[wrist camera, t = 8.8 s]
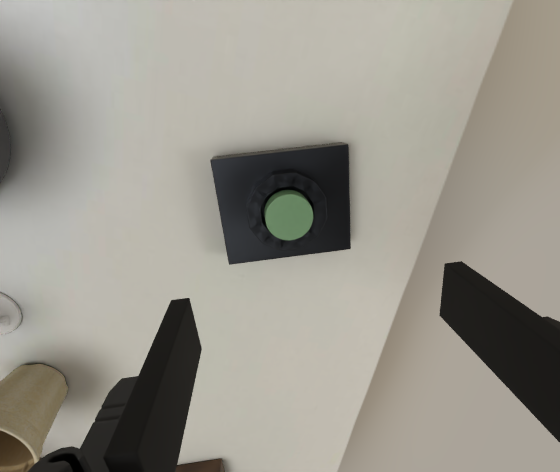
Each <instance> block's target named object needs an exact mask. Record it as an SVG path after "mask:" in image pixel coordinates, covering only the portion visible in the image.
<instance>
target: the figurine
mask: <svg viewBox="0 0 560 472" xmlns="http://www.w3.org/2000/svg"><path fill="white" fill-rule="evenodd" d="M21 319H22V315H21V311H20V309H19V307H18V305H17V304H16V303H15V302H14V301H13V300H12V299H11V298H9V297H8V296H6V295H4V294H2V293H0V335H1V334H7V333H10V332H12V331H14V330H15V329H16V328H17V327H18V326H19V325H20V323H21Z"/></svg>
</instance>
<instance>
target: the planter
mask: <svg viewBox="0 0 560 472" xmlns="http://www.w3.org/2000/svg"><path fill="white" fill-rule="evenodd" d="M10 153H11V144H10V135H9V131H8V127H7V124H6V121H5V118H4V116H3V113H2V111H1V109H0V182H1V181H2V179H3V177H4V175H5V173H6V171H7V168H8V165H9V161H10Z"/></svg>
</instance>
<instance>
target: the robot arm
mask: <svg viewBox="0 0 560 472" xmlns="http://www.w3.org/2000/svg"><path fill="white" fill-rule="evenodd" d="M440 316H441V317H442V318H443V319H444V321H445V322H446V323H447V324H448V325H449V326H450V327H451V328H452V329H453V330H454V331H455V332H456V333H457V334H458V335H459V336H460V337H461V339H462V340H463V341H465V343H466V344H467V345H468V346H469V347H470V348H471V349H472V350H473V351H474V352H475V353H476V354H477V355H478V356H479V358H480V359H481V360H482V361H483V362H484V363H485V364H486V365H487V366H488V367H489V368H490V369H491V370H492V371H493V372H494V373H495V375H496V376H497V377H498V378H499V379H500V380H501V381H502V382H503V383H504V384H505V385H506V386H507V387H508V388H509V389H510V390H511V391H512V393H513V394H514V395H515V396H516V397H517V398H518V399H519V400H520V401H521V402H522V403H523V404H524V405H525V406H526V407H527V408H528V409H529V410H530V412H531V413H532V414H533V415H534V416H535V417H536V418H537V419H538V420H539V421H540V422H541V423H542V424H543V425H544V426H545V427H546V428H547V430H548V431H549V432H550V433H551V434H552V435H553V436H554V437H555V438H556V439H557V440H558V441H559V442H560V322H559V321H557V320H554V319H552V318H549V317H541V316H539V315H538V314H537V313H535V312H534V311H532V310H531V309H529V308H528V307H526V306H525V305H524V304H522V303H521V302H519V301H518V300H516V299H515V298H513V297H512V296H510V295H509V294H508V293H506V292H505V291H503V290H501V288H499V287H497V286H496V285H495V284H493V283H492V282H490V281H489V280H488V279H486V278H485V277H483V276H482V275H480V274H479V273H477V272H476V271H474V270H473V269H471V268H470V267H469V266H467V265H466V264H464V263H463V262H462V261H461V262H454V263H447V264H445V267H444V277H443V286H442V296H441V307H440ZM201 350H202V348H201V344H200V340H199V336H198V332H197V328H196V324H195V320H194V315H193V311H192V307H191V303H190V299H189V298H185V299H177V300H171V302H170V304H169V307H168V309H167V311H166V314H165V316H164V318H163V321H162V323H161V325H160V327H159V330H158V332H157V334H156V337H155V339H154V341H153V344H152V346H151V348H150V351H149V353H148V355H147V358H146V360H145V362H144V364H143V367H142V369H141V371H140V374H139V376H136V377H129V378H122V379H121V380H120V381H119V382H118V383H117V384H116V385H115V386H114V387H113V388H112V390H111V391H110V392H109V393H108V395H107V397H106V399H105V401H104V403H103V405H102V409H101V410H100V411H99V413H98V415H97V417H96V419H95V422H94V423H93V424H92V426H91V428H90V430H89V432H88V434H87V436H86V438H85V440H84V442H83V444H82V446H81V448H80V449H78V448H75V447H66V448H61V449H58V450H56V451H54V452H52V453H50V454H48V455H46V456H45V457H43V458H42V459H41V460H39V461H38V462H36V463H35V464H34V465H33V466H32V467H31V468H30V469H29V470H28V471H27V472H176V467H177V462H178V458H179V453H180V448H181V444H182V439H183V434H184V429H185V425H186V420H187V415H188V411H189V406H190V401H191V397H192V392H193V387H194V382H195V378H196V373H197V368H198V364H199V359H200V354H201Z"/></svg>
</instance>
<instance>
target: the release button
mask: <svg viewBox="0 0 560 472" xmlns="http://www.w3.org/2000/svg"><path fill="white" fill-rule="evenodd" d="M264 213H265V221H266V225H267V228H268V230H269V231H270V232H271V233H272V234H273V235H274V236H275V237H277V238H279V239H282V240H295V239H298V238H300V237H302V236H303V235H304V234H306V233H307V232H308V230H309V229H310V227H311V225H312V222H313V211H312V208H311V206H310V204H309V202H308V201H307V199H306V198H305V197H304V196H303V195H302V194H300V193H299V192H297V191H294V190H282V191H279V192H277V193H275V194H274V195H273V196H271V197H270V199H269V200H268V201H267V203H266V206H265V212H264Z"/></svg>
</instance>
